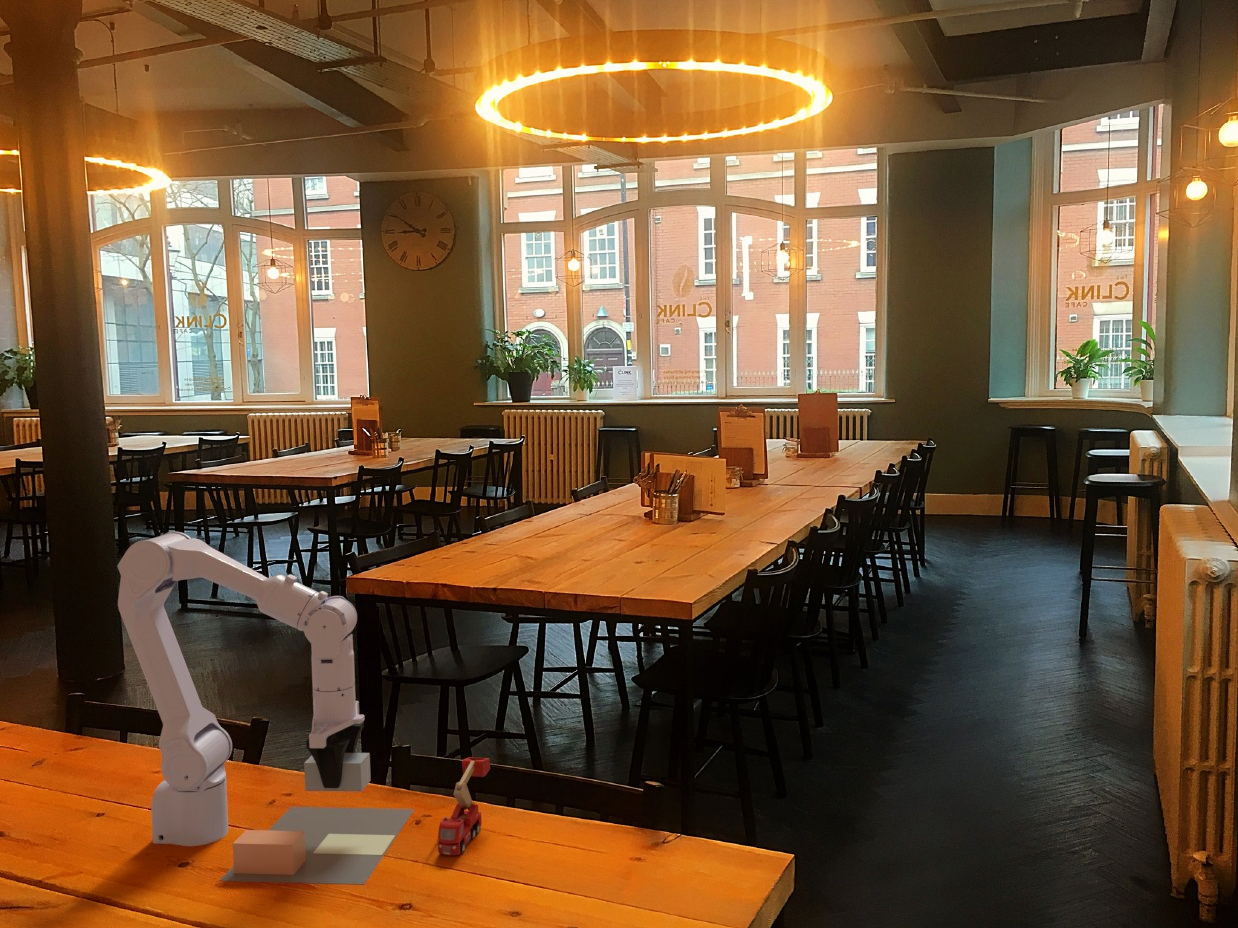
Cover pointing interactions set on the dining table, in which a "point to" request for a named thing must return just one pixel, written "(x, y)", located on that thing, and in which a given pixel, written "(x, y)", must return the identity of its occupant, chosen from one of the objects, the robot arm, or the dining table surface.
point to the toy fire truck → (462, 811)
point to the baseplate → (335, 843)
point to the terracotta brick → (269, 852)
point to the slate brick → (352, 773)
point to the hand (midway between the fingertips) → (337, 780)
